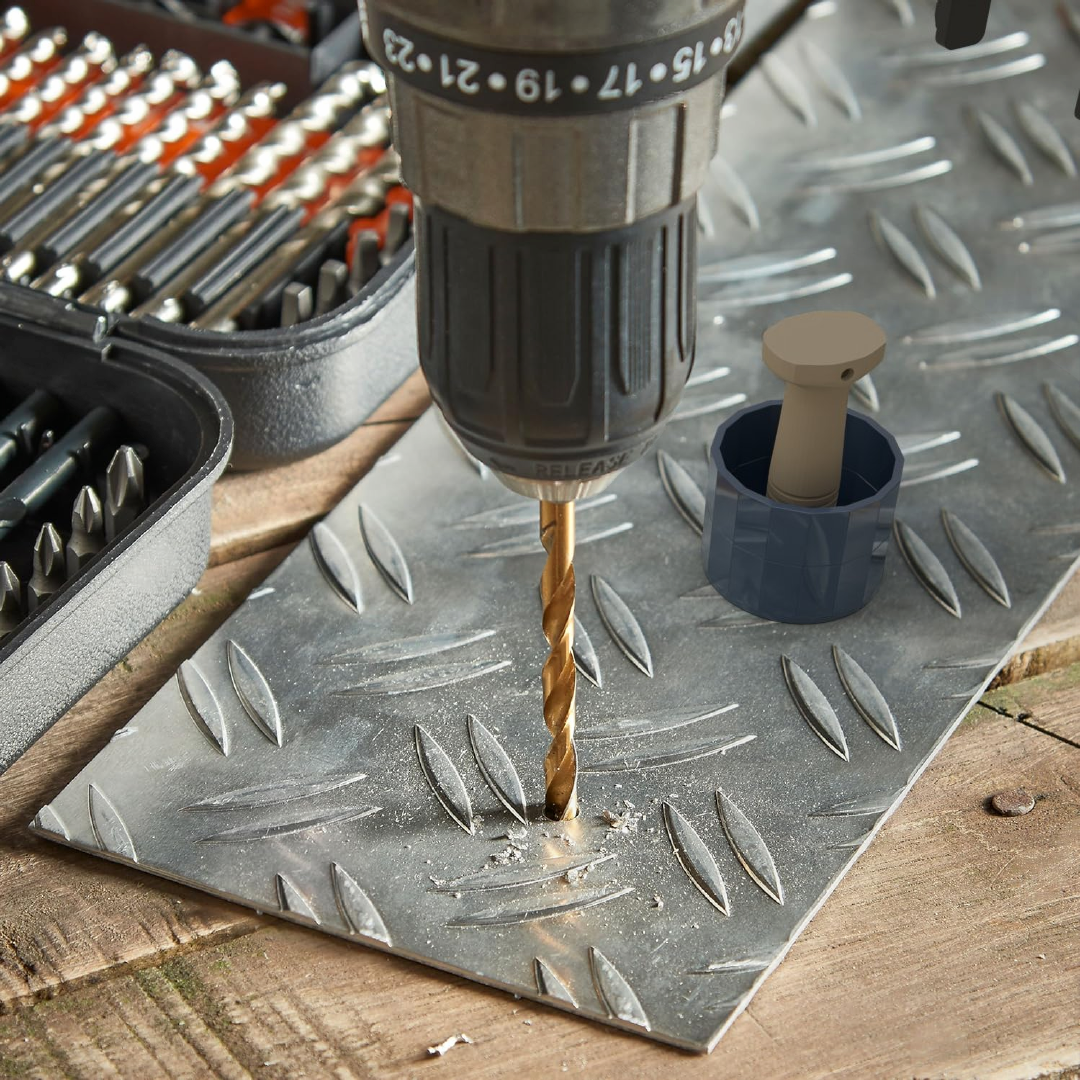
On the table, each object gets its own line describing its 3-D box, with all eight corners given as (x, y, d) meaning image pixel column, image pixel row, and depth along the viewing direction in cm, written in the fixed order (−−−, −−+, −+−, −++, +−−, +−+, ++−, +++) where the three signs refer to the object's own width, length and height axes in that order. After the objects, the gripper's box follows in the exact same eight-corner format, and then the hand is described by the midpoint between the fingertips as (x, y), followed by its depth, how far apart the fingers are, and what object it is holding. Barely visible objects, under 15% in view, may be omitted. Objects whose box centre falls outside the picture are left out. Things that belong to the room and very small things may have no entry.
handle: (724, 545, 90) (747, 326, 80) (819, 518, 92) (853, 301, 82) (764, 596, 86) (794, 374, 77) (862, 567, 88) (903, 347, 79)
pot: (721, 493, 94) (732, 385, 89) (891, 524, 92) (913, 416, 87) (684, 603, 87) (694, 492, 82) (869, 640, 84) (891, 528, 79)
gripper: (1363, -337, 50) (1220, 128, 61) (1059, -405, 60) (981, 7, 70) (1197, -313, 47) (1077, 169, 58) (905, -388, 57) (848, 37, 68)
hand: (1024, 80), depth 64 cm, fingers open, 8 cm apart
